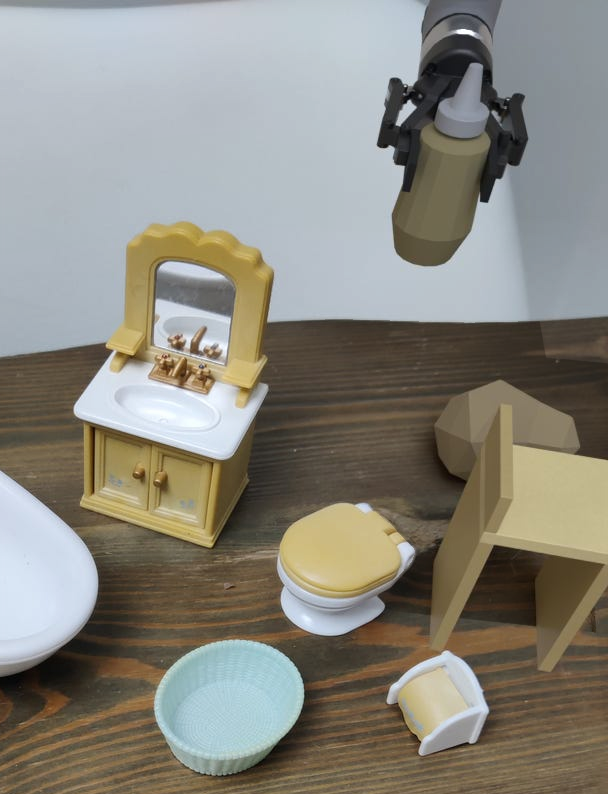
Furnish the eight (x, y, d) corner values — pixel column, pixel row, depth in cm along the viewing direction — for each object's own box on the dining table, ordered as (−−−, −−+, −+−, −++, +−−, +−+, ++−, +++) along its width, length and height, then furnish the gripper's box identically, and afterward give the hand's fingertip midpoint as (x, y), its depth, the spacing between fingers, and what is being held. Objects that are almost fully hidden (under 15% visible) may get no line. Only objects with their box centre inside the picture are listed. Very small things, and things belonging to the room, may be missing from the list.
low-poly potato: (397, 475, 104) (475, 502, 95) (416, 370, 100) (500, 387, 91) (500, 473, 111) (583, 498, 101) (522, 375, 107) (611, 390, 97)
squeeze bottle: (383, 270, 99) (432, 82, 84) (382, 226, 103) (428, 41, 89) (464, 278, 98) (527, 91, 84) (459, 234, 103) (518, 49, 88)
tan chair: (547, 582, 96) (637, 425, 80) (550, 672, 89) (650, 521, 73) (433, 561, 97) (500, 403, 81) (429, 649, 90) (500, 496, 74)
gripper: (536, 119, 105) (542, 236, 92) (355, 96, 107) (335, 207, 94) (562, 44, 99) (573, 156, 86) (370, 21, 101) (351, 127, 88)
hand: (448, 182), depth 90 cm, fingers closed on squeeze bottle, 6 cm apart
